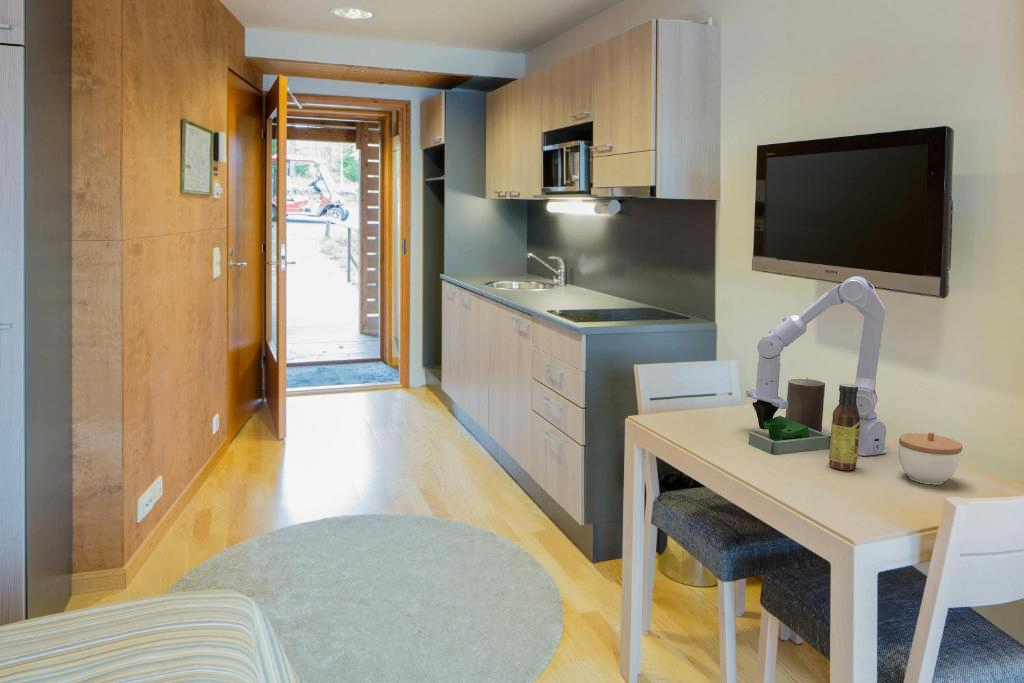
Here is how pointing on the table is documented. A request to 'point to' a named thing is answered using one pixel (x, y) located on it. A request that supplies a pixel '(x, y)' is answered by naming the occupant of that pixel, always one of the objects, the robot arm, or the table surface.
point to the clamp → (785, 429)
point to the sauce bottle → (845, 430)
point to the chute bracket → (791, 443)
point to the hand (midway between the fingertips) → (763, 428)
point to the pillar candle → (806, 402)
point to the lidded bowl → (929, 457)
